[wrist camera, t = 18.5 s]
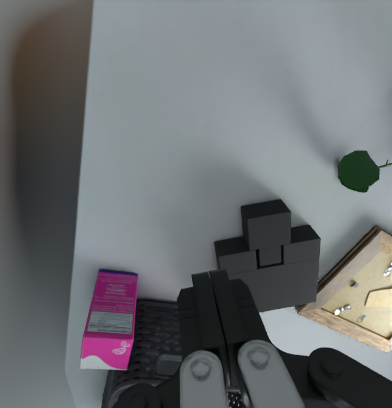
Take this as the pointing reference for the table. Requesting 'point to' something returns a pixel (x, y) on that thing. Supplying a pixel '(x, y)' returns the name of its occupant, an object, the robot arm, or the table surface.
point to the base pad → (275, 270)
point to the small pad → (266, 229)
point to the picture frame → (358, 293)
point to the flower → (358, 171)
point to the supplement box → (110, 322)
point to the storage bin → (153, 353)
